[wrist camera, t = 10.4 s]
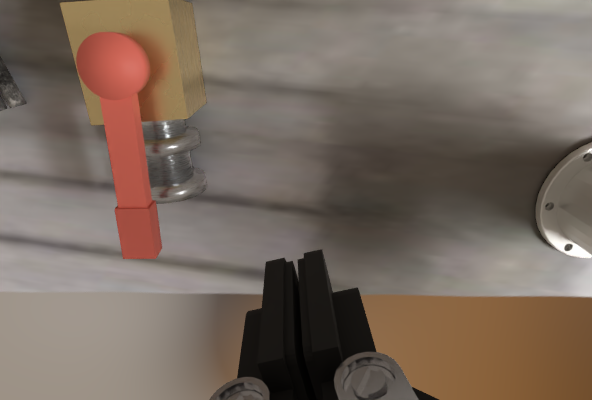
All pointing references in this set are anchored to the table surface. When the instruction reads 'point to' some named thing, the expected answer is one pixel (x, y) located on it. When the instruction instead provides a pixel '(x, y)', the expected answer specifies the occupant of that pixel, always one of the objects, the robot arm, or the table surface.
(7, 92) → the valve
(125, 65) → the lever
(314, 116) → the table surface
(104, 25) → the ball valve
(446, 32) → the table surface
